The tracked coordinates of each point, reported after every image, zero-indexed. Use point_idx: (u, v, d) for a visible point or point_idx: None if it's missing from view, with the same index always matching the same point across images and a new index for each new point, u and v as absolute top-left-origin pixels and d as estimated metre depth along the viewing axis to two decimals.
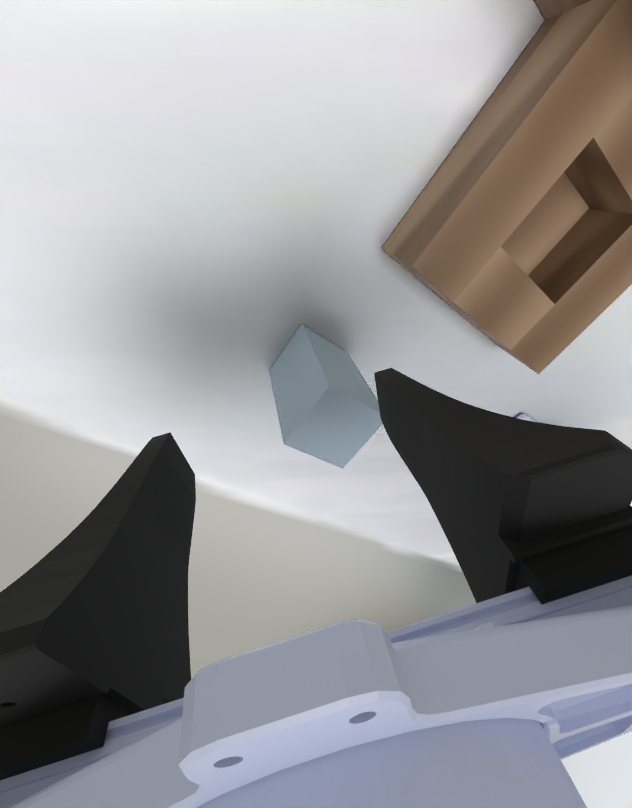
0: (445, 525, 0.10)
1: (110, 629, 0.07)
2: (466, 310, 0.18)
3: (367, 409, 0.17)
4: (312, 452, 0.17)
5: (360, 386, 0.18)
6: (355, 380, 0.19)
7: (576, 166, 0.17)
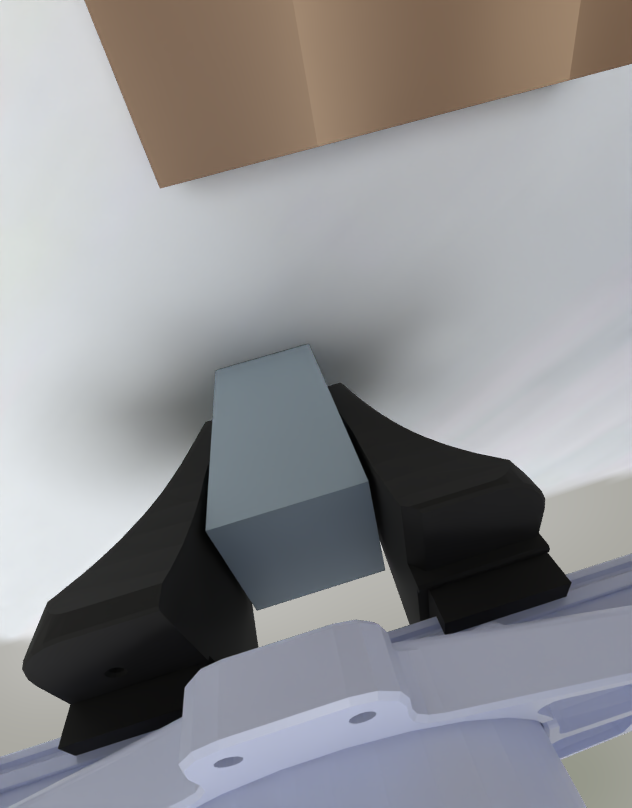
0: (383, 545, 0.10)
1: (203, 600, 0.07)
2: (365, 129, 0.07)
3: (314, 502, 0.08)
4: (310, 590, 0.09)
5: (309, 432, 0.09)
6: (300, 423, 0.10)
7: None
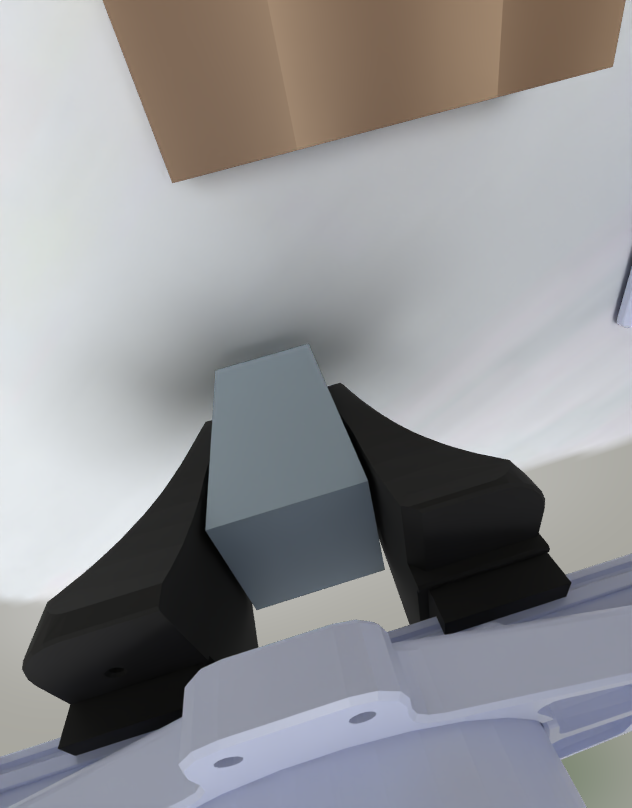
0: (383, 545, 0.10)
1: (203, 600, 0.07)
2: (334, 136, 0.09)
3: (314, 501, 0.08)
4: (310, 589, 0.10)
5: (309, 432, 0.09)
6: (300, 422, 0.10)
7: None
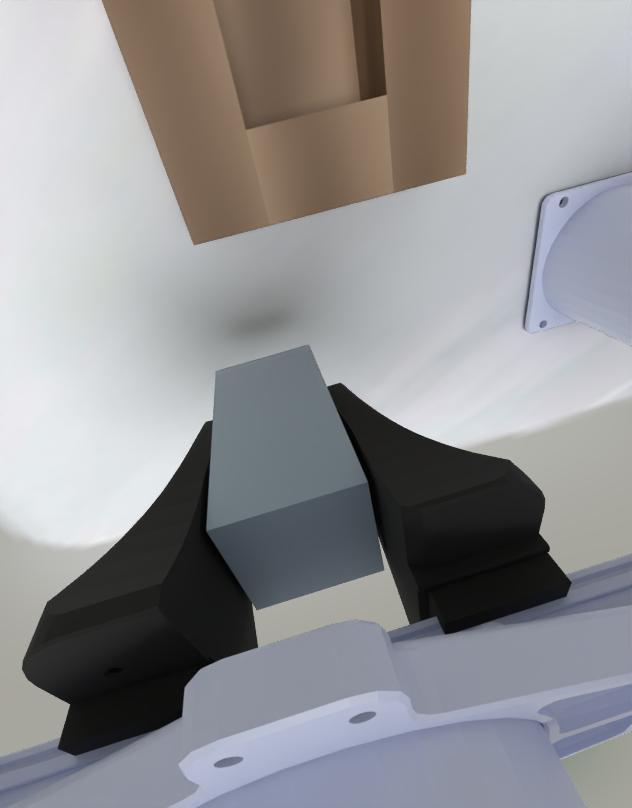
0: (383, 544, 0.10)
1: (203, 600, 0.07)
2: (292, 217, 0.14)
3: (314, 502, 0.08)
4: (310, 589, 0.10)
5: (309, 433, 0.09)
6: (300, 423, 0.10)
7: None
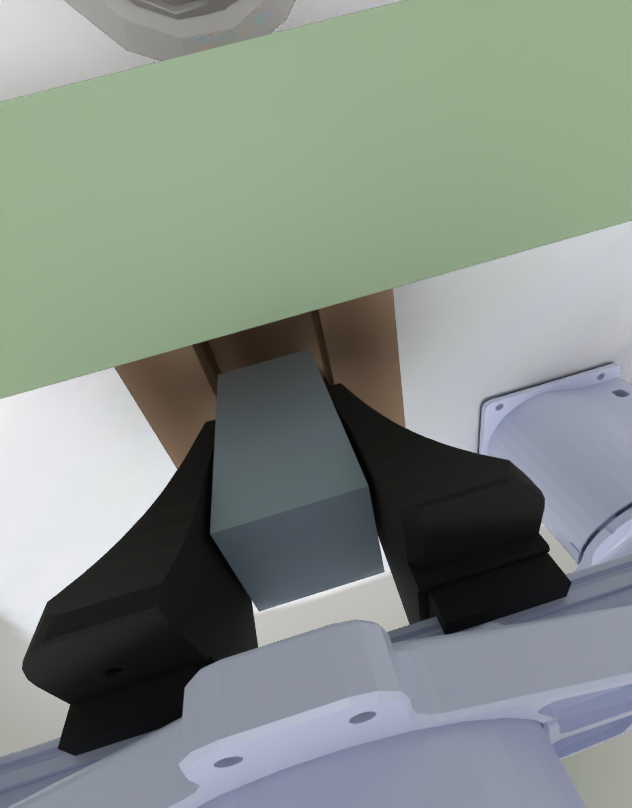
0: (383, 545, 0.10)
1: (203, 600, 0.07)
2: None
3: (316, 506, 0.08)
4: (311, 591, 0.10)
5: (311, 437, 0.10)
6: (302, 428, 0.10)
7: None
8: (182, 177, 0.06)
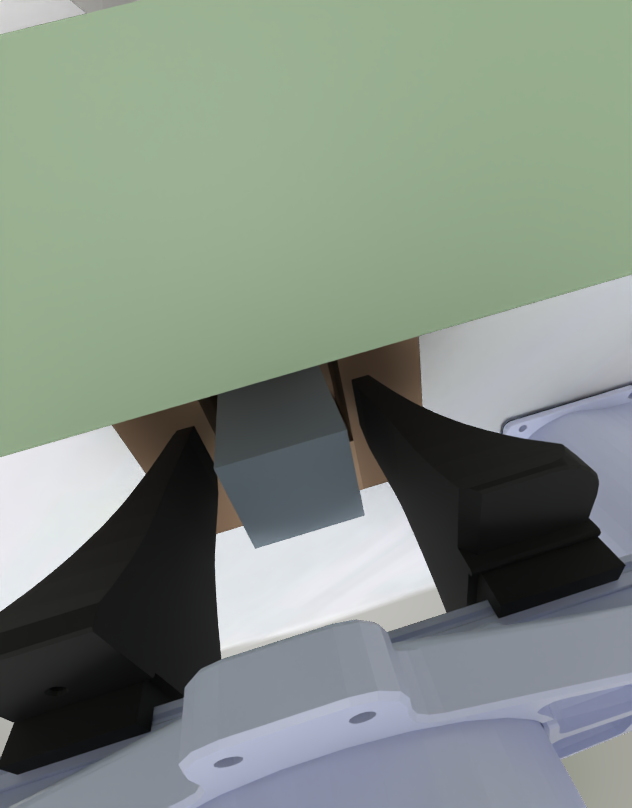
0: (417, 534, 0.10)
1: (152, 616, 0.07)
2: None
3: (302, 446, 0.09)
4: (301, 530, 0.11)
5: (300, 396, 0.11)
6: (293, 389, 0.11)
7: None
8: (160, 184, 0.04)
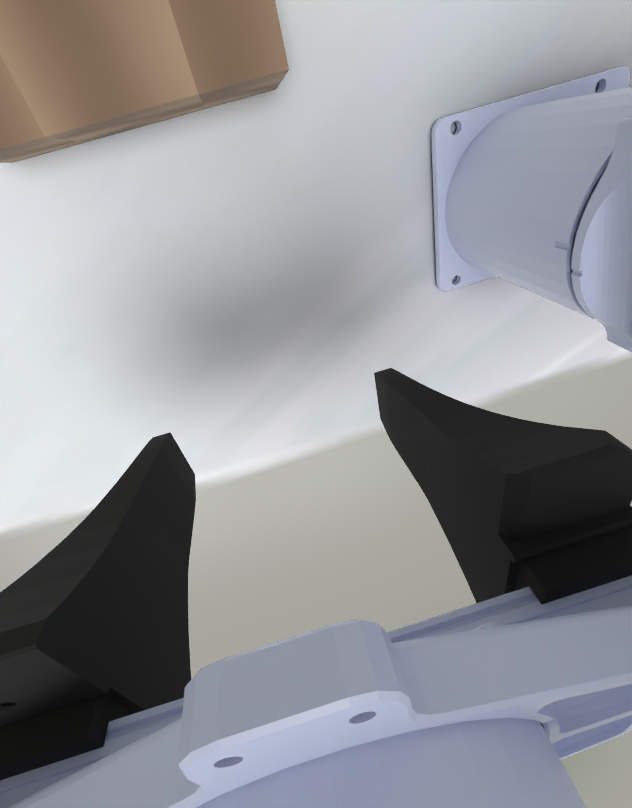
0: (445, 525, 0.10)
1: (110, 629, 0.07)
2: (72, 126, 0.12)
3: None
4: None
5: None
6: None
7: None
8: None
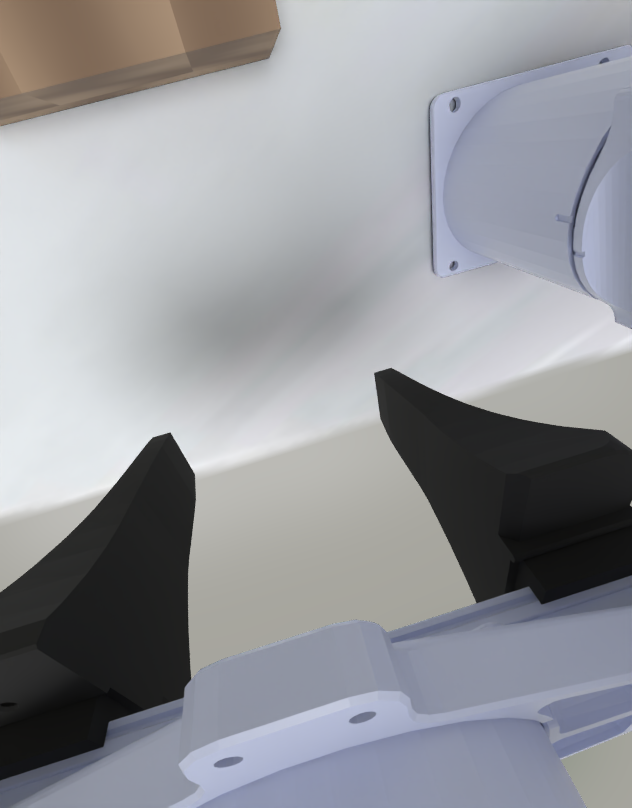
0: (445, 525, 0.10)
1: (110, 629, 0.07)
2: (51, 82, 0.11)
3: None
4: None
5: None
6: None
7: None
8: None
